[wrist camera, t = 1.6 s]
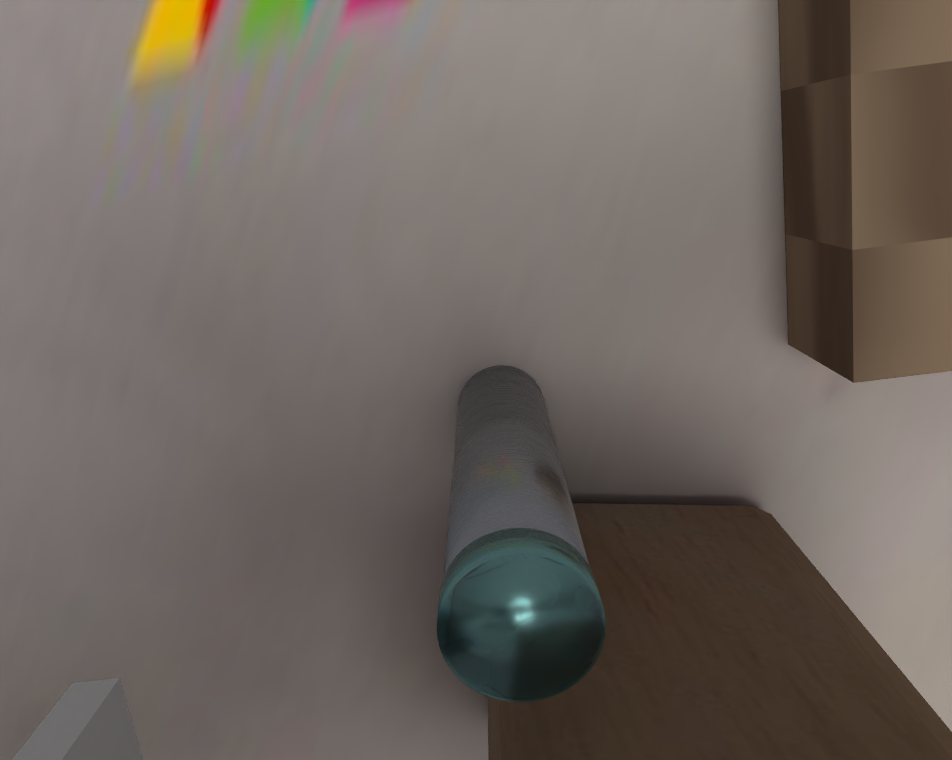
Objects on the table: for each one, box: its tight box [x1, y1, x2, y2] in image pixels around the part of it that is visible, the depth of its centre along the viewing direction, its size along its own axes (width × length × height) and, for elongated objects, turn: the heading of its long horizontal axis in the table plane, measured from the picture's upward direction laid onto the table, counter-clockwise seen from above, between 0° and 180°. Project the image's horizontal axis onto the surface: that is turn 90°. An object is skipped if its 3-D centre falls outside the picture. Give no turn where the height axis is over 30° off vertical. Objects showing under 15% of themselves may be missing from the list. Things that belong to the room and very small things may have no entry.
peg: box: [437, 366, 606, 702], centre depth 22 cm, size 3×3×14 cm
